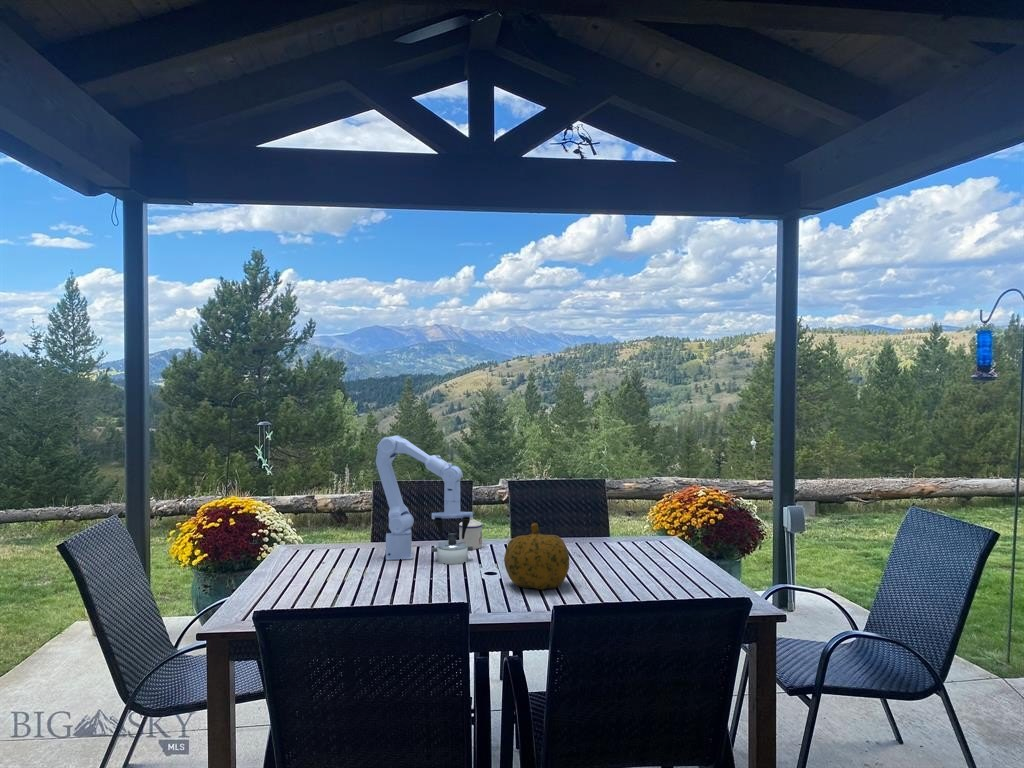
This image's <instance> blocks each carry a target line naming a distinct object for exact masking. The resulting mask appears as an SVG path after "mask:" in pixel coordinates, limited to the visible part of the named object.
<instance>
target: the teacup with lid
mask: <svg viewBox="0 0 1024 768" xmlns="http://www.w3.org/2000/svg"><path fill="white" fill-rule="evenodd" d="M458 529H459V531H458V532H459V534H458V535H459V536H458V537H459V539H458V541H462V542H465V543H466V545H467V546H468V547H471V546H472V547H473V550H478V548H479V549H480V548H482V546H483V542H482V541H483V540H482V539H483V531H482V529H483V523H482V522H481V521H478V520H476V519H474V517H473V518H470V522H469V524H468V526H467V529H466V532H465V536H464V539H462V521H461V522H460V523H459V524H458Z"/></svg>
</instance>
